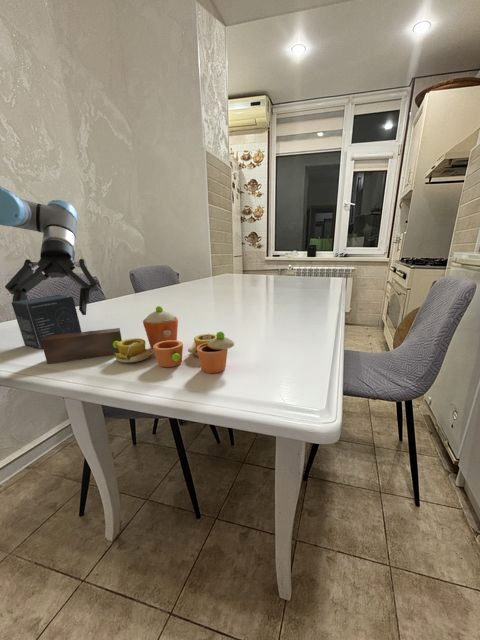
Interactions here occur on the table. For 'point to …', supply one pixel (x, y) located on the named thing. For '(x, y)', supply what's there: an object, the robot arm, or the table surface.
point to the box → (46, 318)
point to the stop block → (80, 345)
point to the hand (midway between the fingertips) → (51, 314)
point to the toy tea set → (174, 344)
